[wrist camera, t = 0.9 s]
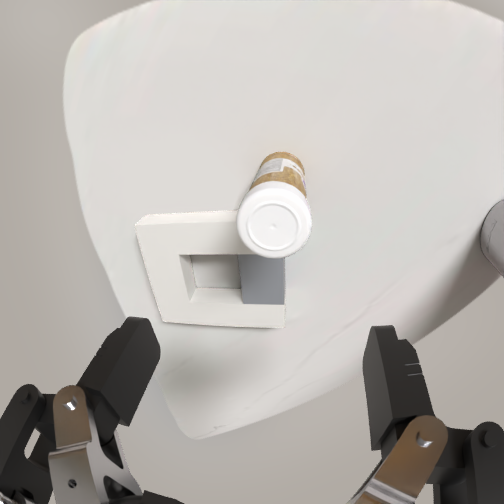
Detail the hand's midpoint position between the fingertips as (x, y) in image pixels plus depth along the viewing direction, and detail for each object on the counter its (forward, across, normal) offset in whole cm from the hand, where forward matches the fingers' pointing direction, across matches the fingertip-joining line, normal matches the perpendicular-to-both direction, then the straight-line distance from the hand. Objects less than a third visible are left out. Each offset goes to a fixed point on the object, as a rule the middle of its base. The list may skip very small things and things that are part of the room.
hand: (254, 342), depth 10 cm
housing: (+22, +8, +10) cm, 25 cm away
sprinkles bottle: (+22, 0, -1) cm, 22 cm away
